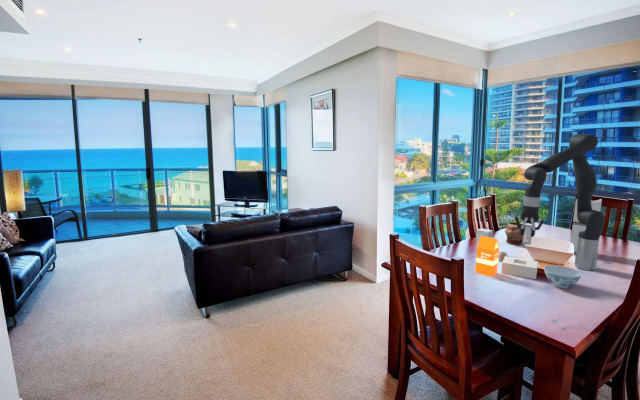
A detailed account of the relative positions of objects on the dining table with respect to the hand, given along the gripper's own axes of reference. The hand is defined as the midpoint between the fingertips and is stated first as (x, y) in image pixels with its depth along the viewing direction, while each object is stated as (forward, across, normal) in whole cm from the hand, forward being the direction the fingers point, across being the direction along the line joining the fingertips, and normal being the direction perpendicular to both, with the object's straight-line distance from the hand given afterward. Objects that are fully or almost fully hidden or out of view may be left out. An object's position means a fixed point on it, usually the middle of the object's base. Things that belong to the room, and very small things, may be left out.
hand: (527, 235), depth 185 cm
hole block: (+20, +1, +3) cm, 21 cm away
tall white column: (+19, -28, -52) cm, 62 cm away
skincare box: (+21, +24, -23) cm, 39 cm away
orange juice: (+21, +16, +13) cm, 30 cm away
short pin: (+20, +12, -12) cm, 26 cm away
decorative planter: (+20, +9, -56) cm, 60 cm away
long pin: (+4, 0, 0) cm, 4 cm away
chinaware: (+20, -17, +11) cm, 29 cm away
